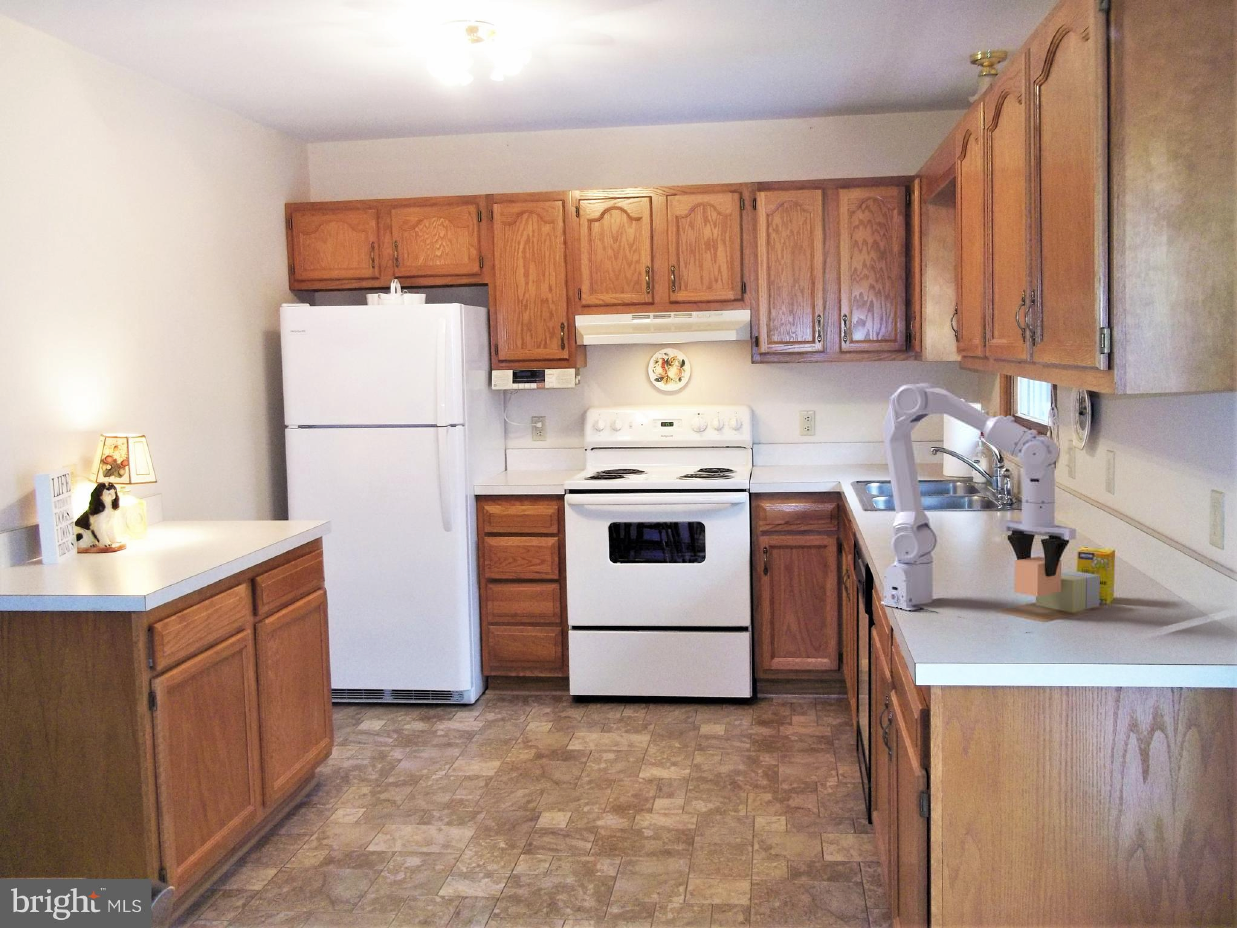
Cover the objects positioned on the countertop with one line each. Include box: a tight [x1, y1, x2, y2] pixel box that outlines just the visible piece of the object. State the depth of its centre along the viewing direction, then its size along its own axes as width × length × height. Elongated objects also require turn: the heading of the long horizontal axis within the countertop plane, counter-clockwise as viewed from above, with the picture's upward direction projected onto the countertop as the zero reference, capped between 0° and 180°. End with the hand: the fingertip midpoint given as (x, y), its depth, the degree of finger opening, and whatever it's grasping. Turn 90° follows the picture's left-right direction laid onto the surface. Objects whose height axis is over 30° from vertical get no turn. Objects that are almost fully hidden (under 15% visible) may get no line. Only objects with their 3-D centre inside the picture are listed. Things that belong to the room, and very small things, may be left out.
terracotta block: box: [1013, 556, 1062, 597], centre depth 206 cm, size 7×5×6 cm
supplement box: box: [1076, 546, 1116, 605], centre depth 216 cm, size 6×6×11 cm
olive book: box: [1035, 574, 1086, 612], centre depth 210 cm, size 4×8×6 cm, turn 33°
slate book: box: [1061, 568, 1100, 609], centre depth 213 cm, size 4×8×6 cm, turn 33°
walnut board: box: [993, 601, 1109, 623], centre depth 209 cm, size 20×11×1 cm, turn 123°
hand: (1037, 573), depth 206 cm, fingers closed on terracotta block, 5 cm apart
